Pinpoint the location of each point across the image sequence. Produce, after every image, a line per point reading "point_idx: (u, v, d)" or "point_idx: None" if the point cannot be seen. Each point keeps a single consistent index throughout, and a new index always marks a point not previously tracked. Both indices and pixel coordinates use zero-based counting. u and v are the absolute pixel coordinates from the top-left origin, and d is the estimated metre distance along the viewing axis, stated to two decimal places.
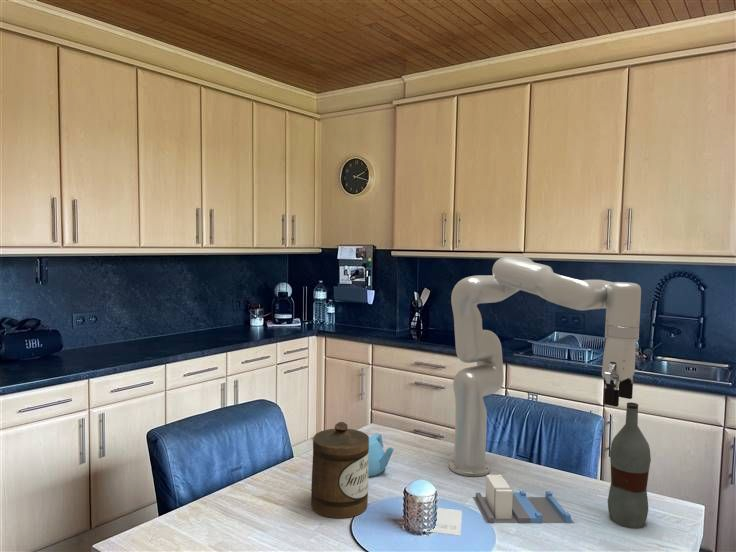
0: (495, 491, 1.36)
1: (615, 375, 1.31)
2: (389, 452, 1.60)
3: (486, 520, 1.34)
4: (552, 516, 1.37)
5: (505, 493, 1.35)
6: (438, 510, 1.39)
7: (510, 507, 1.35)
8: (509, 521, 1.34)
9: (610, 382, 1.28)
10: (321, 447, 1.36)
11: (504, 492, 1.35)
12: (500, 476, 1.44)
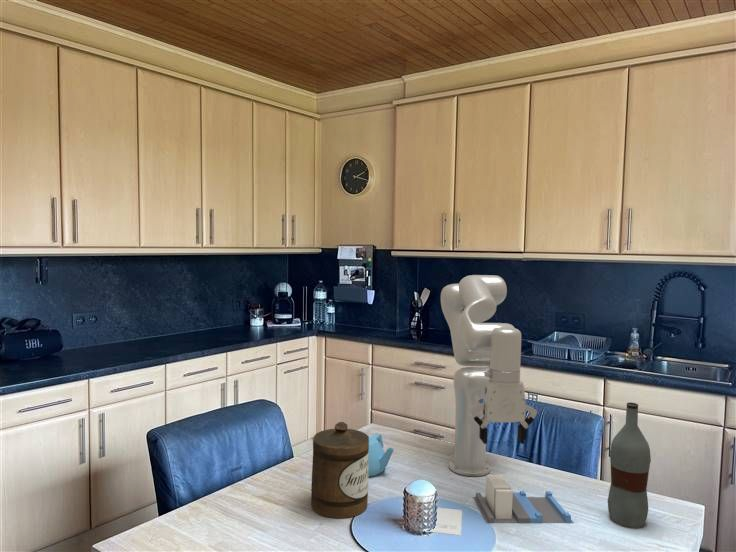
0: (495, 491, 1.36)
1: None
2: (389, 452, 1.60)
3: (486, 520, 1.34)
4: (552, 516, 1.37)
5: (505, 493, 1.35)
6: (438, 510, 1.39)
7: (510, 507, 1.35)
8: (509, 521, 1.34)
9: None
10: (321, 447, 1.36)
11: (504, 492, 1.35)
12: (500, 476, 1.44)
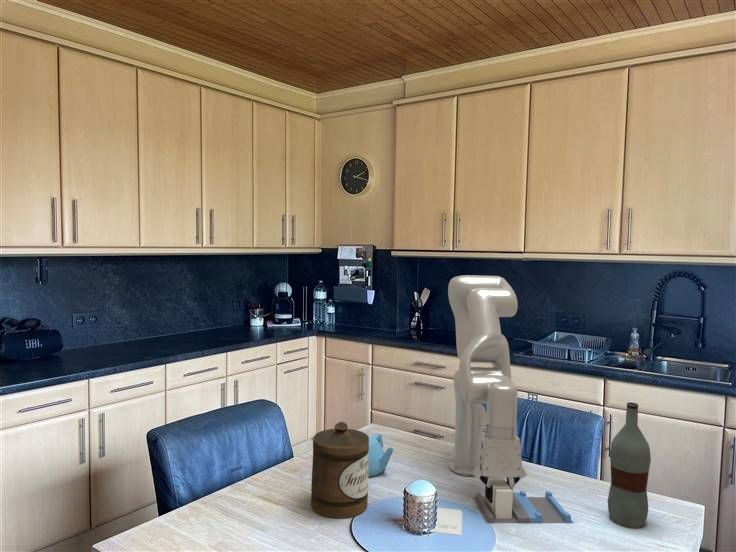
0: (495, 491, 1.36)
1: None
2: (389, 452, 1.60)
3: (486, 520, 1.34)
4: (552, 516, 1.37)
5: (505, 493, 1.35)
6: (438, 510, 1.39)
7: (510, 507, 1.35)
8: (509, 521, 1.34)
9: None
10: (321, 447, 1.36)
11: (504, 492, 1.35)
12: None
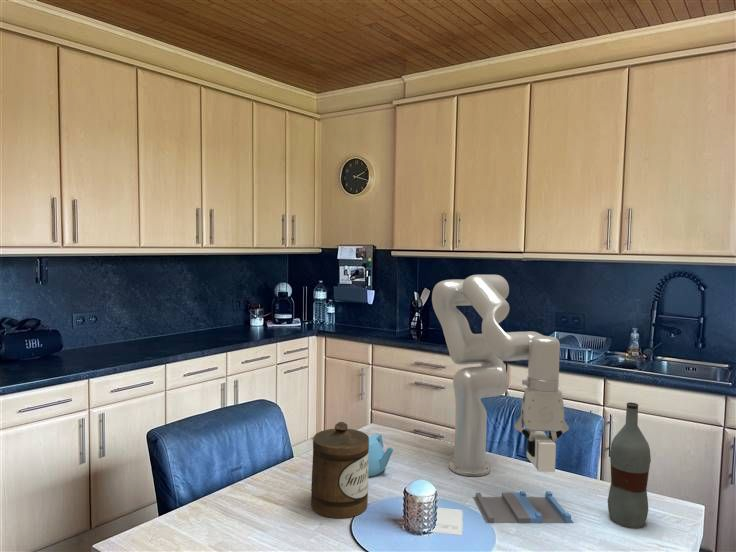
0: (538, 444, 1.36)
1: None
2: (389, 452, 1.60)
3: (486, 520, 1.34)
4: (552, 516, 1.37)
5: (548, 446, 1.35)
6: (439, 510, 1.39)
7: (553, 460, 1.35)
8: (509, 521, 1.34)
9: None
10: (321, 446, 1.36)
11: (547, 445, 1.35)
12: (541, 432, 1.43)
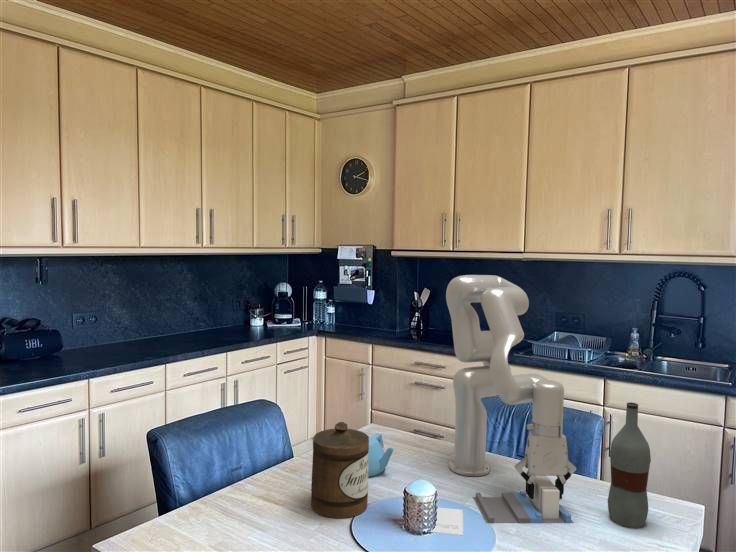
0: (542, 491, 1.37)
1: None
2: (389, 452, 1.60)
3: (486, 520, 1.34)
4: None
5: (552, 493, 1.36)
6: (439, 510, 1.39)
7: (557, 507, 1.36)
8: (509, 521, 1.34)
9: None
10: (321, 447, 1.36)
11: (551, 492, 1.36)
12: (544, 476, 1.45)
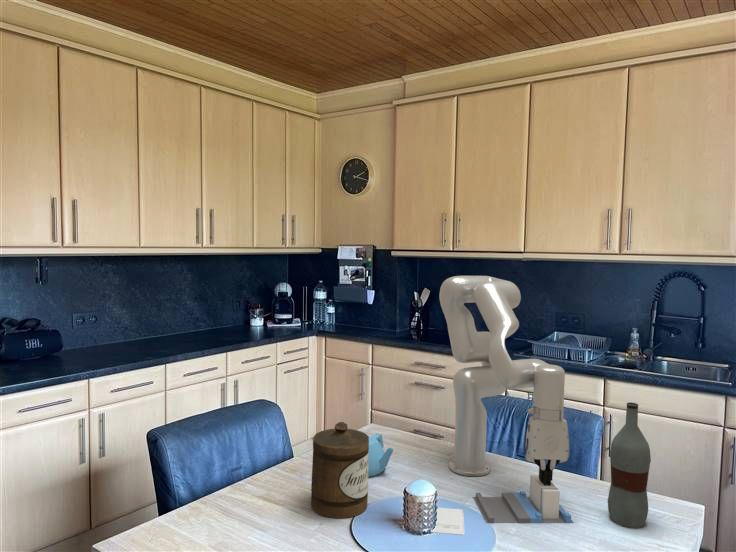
0: (542, 491, 1.37)
1: None
2: (389, 452, 1.60)
3: (486, 520, 1.34)
4: None
5: (552, 493, 1.36)
6: (439, 510, 1.39)
7: (557, 507, 1.36)
8: (509, 521, 1.34)
9: None
10: (321, 447, 1.36)
11: (551, 492, 1.36)
12: None
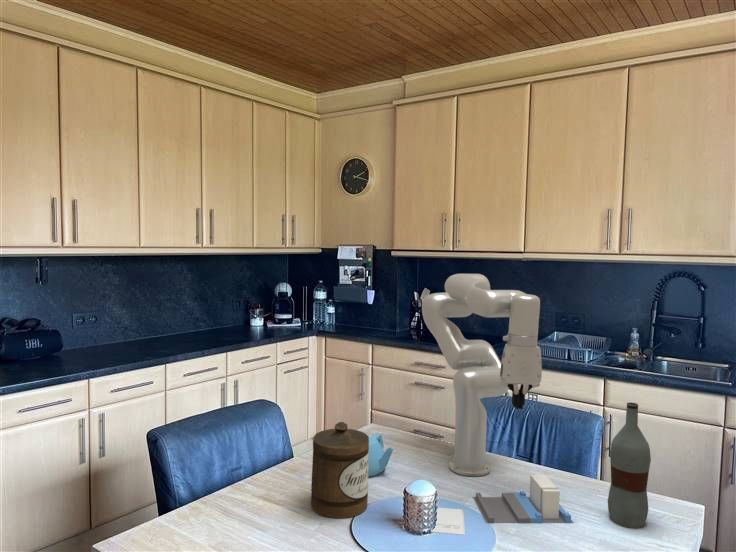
0: (542, 491, 1.37)
1: None
2: (389, 452, 1.60)
3: (486, 520, 1.34)
4: None
5: (552, 493, 1.36)
6: (439, 510, 1.39)
7: (557, 507, 1.36)
8: (509, 521, 1.34)
9: None
10: (321, 447, 1.36)
11: (551, 492, 1.36)
12: (544, 476, 1.45)
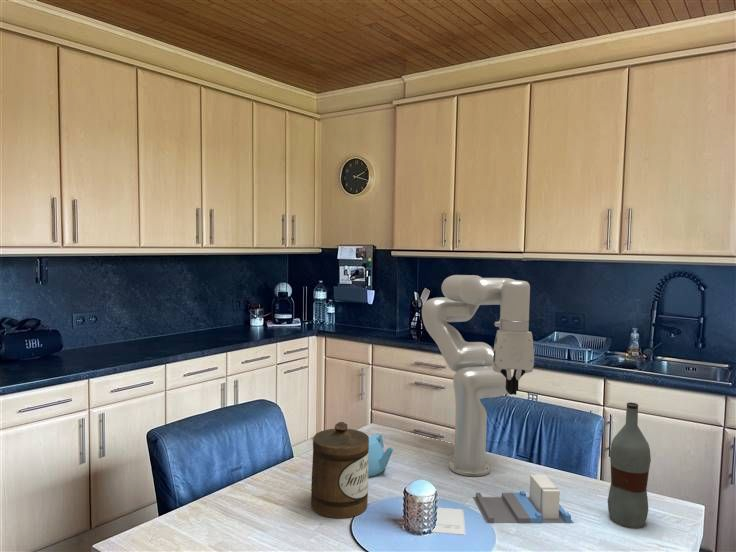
0: (542, 491, 1.37)
1: None
2: (389, 452, 1.60)
3: (486, 520, 1.34)
4: None
5: (552, 493, 1.36)
6: (440, 510, 1.39)
7: (557, 507, 1.36)
8: (509, 521, 1.34)
9: None
10: (321, 447, 1.36)
11: (551, 492, 1.36)
12: (544, 476, 1.45)
